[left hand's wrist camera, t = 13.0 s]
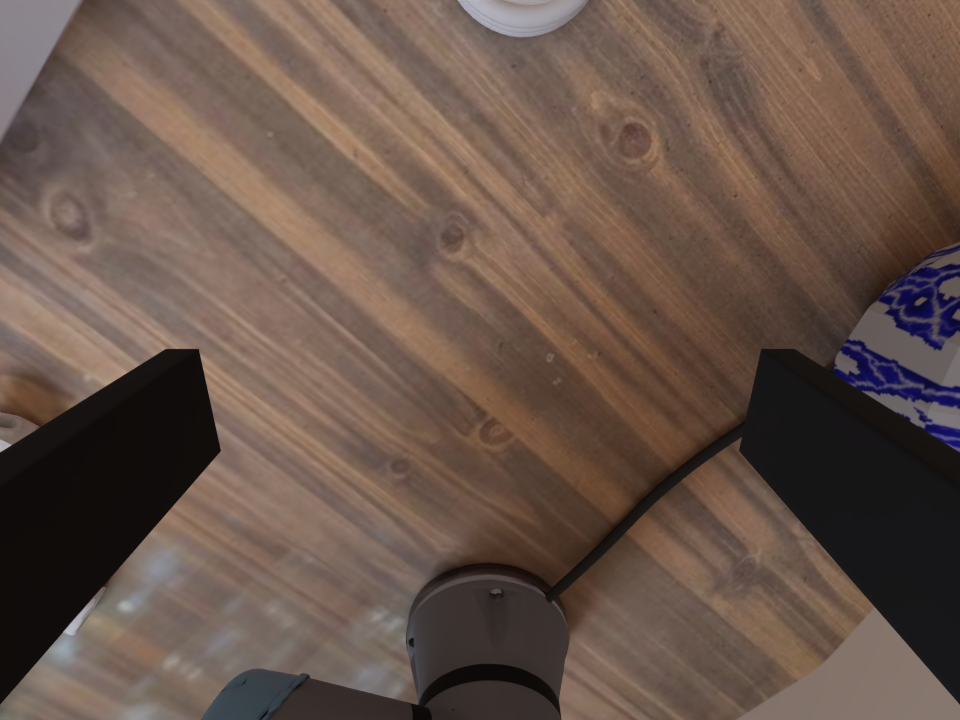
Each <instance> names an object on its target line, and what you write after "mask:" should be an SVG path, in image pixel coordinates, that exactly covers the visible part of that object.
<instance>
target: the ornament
mask: <svg viewBox="0 0 960 720" xmlns="http://www.w3.org/2000/svg"><path fill="white" fill-rule="evenodd" d="M833 374H835V375H837V376H838V377H840V378H841V379H843V380H845V381H846V382H848V383H849V384H851V385H853V386H854V387H856V388H857V389H859V390H861V391H862V392H864V393H865V394H867V395H869V396H870V397H872V398H873V399H875V400H877V401H878V402H880V403H882V404H883V405H885V406H886V407H888V408H890V409H891V410H893V411H894V412H896V413H898V414H899V415H901V416H902V417H904V418H906V419H907V420H909V421H910V422H912V423H914V424H915V425H917V426H918V427H920V428H922V429H923V430H925V431H926V432H928V433H930V434H931V435H933V436H934V437H936V438H938V439H939V440H941V441H942V442H944V443H946V444H947V445H949V446H951V447H952V448H954V449H955V450H957V451H959V452H960V242H958V243H955V244H952V245H949V246H947V247H944V248H941V249H938V250H935V251H933V252H932V253H931V254H929V255H928V256H927V257H925V258H924V259H923V260H921V261H920V262H919V263H917V264H916V265H915V266H913V267H912V268H911V269H909V270H908V271H907V272H905V273H904V274H903V275H901V276H900V277H899V278H897V279H896V280H895V281H893V282H892V283H891V284H889V285H888V286H887V287H886V289H885V290H884V291H883V292H882V293H881V294H880V295H879V297H878V298H877V299H876V300H875V301H874V302H873V303H872V304H871V306H870V307H869V308H868V309H867V310H866V312H865V313H864V315H863V316H862V318H861V320H860V321H859V323H858V324H857V326H856V327H855V329H854V330H853V332H852V333H851V335H850V336H849V338H848V339H847V341H846V342H845V344H844V345H843V347H842V348H841V350H840V351H839V353H838V354H837V356H836V359H835V364H834V370H833Z"/></svg>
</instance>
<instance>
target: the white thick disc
mask: <svg viewBox="0 0 960 720" xmlns="http://www.w3.org/2000/svg"><path fill="white" fill-rule="evenodd" d="M458 2H459V3H460V4H461V5H462V7H463V8H464V9H465V10H466V11H467V12H468V13H469V14H470V15H471V16H472V17H473V18H474V19H476V20H477V21H478V22H479V23H481V24H482V25H484V26H486V27H487V28H489V29H491V30H493V31H496V32H498V33H500V34H504V35H508V36H514V37H533V36H538V35H542V34H545V33H548V32H551V31H553V30H555V29H557V28H559V27H561V26H563V25H564V24H565V23H567V22H568V21H570V20H571V19H572V18H573V17H575V16H576V15H577V14H578V13H579V12H580V11H581V10H582V9H583V8H584V6H585V5H586V4H587V3H588V2H589V0H458Z"/></svg>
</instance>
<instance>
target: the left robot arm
mask: <svg viewBox="0 0 960 720" xmlns="http://www.w3.org/2000/svg"><path fill="white" fill-rule="evenodd" d="M741 437H742V440H741V445H740V450H739V451H740V453H741V454H742V455H743V456H744V457H745V458H746V459H747V461H748V462H749V463H750V464H751V465H752V466H753V467H754V469H755V470H756V471H757V472H758V473H759V474H760V475H761V477H762V478H763V479H764V480H765V481H766V482H767V484H768V485H769V486H770V487H771V488H772V489H773V490H774V492H775V493H776V494H777V495H778V496H779V497H780V498H781V500H782V501H783V502H784V503H785V504H786V505H787V506H788V508H789V509H790V510H791V511H792V512H793V513H794V515H795V516H796V517H797V518H798V519H799V520H800V521H801V523H802V524H803V525H804V526H805V527H806V528H807V529H808V531H809V532H810V533H811V534H812V535H813V536H814V538H815V539H816V540H817V541H818V542H819V543H820V544H821V546H822V547H823V548H824V549H825V550H826V551H827V552H828V554H829V555H830V556H831V557H832V558H833V559H834V560H835V562H836V563H837V564H838V565H839V566H840V567H841V569H842V570H843V571H844V572H845V573H846V574H847V575H848V577H849V578H850V579H851V580H852V581H853V582H854V583H855V585H856V586H857V587H858V588H859V589H860V590H861V591H862V593H863V594H864V595H865V596H866V597H867V598H868V600H869V601H870V602H871V603H872V604H873V605H874V606H875V608H876V609H877V610H878V611H879V612H880V613H881V614H882V616H883V617H884V618H885V619H886V620H887V621H888V622H889V624H890V625H891V626H892V627H893V628H894V629H895V631H896V632H897V633H898V634H899V635H900V636H901V637H902V639H903V640H904V641H905V642H906V643H907V644H908V645H909V647H910V648H911V649H912V650H913V651H914V652H915V654H916V655H917V656H918V657H919V658H920V659H921V660H922V662H923V663H924V664H925V665H926V666H927V667H928V668H929V670H930V671H931V672H932V673H933V674H934V675H935V676H936V678H937V679H938V680H939V681H940V682H941V683H942V685H943V686H944V687H945V688H946V689H947V690H948V691H949V693H950V694H951V695H952V696H953V697H954V698H955V699H956V701H957V702H958V703H959V704H960V452H959V451H957V450H955V449H954V448H952V447H951V446H949V445H947V444H946V443H944V442H942V441H941V440H939V439H938V438H936V437H934V436H933V435H931V434H930V433H928V432H926V431H925V430H923V429H922V428H920V427H918V426H917V425H915V424H914V423H912V422H910V421H909V420H907V419H906V418H904V417H902V416H901V415H899V414H898V413H896V412H894V411H893V410H891V409H890V408H888V407H886V406H885V405H883V404H882V403H880V402H878V401H877V400H875V399H873V398H872V397H870V396H869V395H867V394H865V393H864V392H862V391H861V390H859V389H857V388H856V387H854V386H853V385H851V384H849V383H848V382H846V381H845V380H843V379H841V378H840V377H838V376H837V375H835V374H833V370H832V371H829V370H827V369H825V368H824V367H822V366H821V365H819V364H817V363H816V362H814V361H812V360H811V359H809V358H808V357H806V356H804V355H803V354H801V353H800V352H798V351H796V350H795V349H761V353H760V358H759V362H758V367H757V371H756V376H755V381H754V385H753V390H752V394H751V399H750V404H749V408H748V413H747V417H746V421H744V422H743V423H741V424H740V425H738V426H737V427H735V428H734V429H732V430H731V431H729V432H728V433H726V434H725V435H723V436H722V437H720V438H719V439H717V440H716V441H714V442H713V443H712V444H710V445H709V446H707V447H706V448H704V449H703V450H702V451H700V452H699V453H698V454H696V455H695V456H694V457H692V458H691V459H690V460H688V461H687V462H686V463H684V464H683V465H682V466H681V467H679V468H678V469H677V470H676V471H674V472H673V473H672V474H671V475H670V476H668V477H667V478H666V479H665V480H664V481H663V482H661V483H660V484H659V485H658V486H657V487H656V488H654V489H653V490H652V491H651V492H650V493H649V494H648V495H647V496H646V497H645V498H644V499H643V500H642V501H641V502H640V503H639V504H638V505H637V506H636V507H635V508H634V509H633V510H632V511H631V512H630V513H629V514H628V515H627V516H626V517H625V518H624V519H623V520H622V521H621V522H620V523H619V525H618V526H617V527H616V528H615V529H614V530H613V531H612V532H611V533H610V534H609V535H608V536H607V537H606V538H605V539H604V540H603V541H602V542H601V543H600V544H599V545H598V546H597V547H596V548H595V549H594V550H592V551H591V552H590V553H589V554H588V555H587V556H586V557H585V558H584V559H583V560H582V561H581V562H580V563H579V564H578V565H576V566H575V567H574V568H573V569H572V570H571V571H570V572H569V573H568V574H567V575H566V576H564V577H563V578H562V579H561V580H560V581H559V582H558V583H557V584H556V585H555V586H553V587H552V588H551V587H550V586H549V585H548V584H546V583H545V582H544V581H542V580H541V579H539V578H538V577H536V576H535V575H532V574H530V573H528V572H526V571H523V570H521V569H517V568H514V567H509V566H504V565H495V564H480V565H471V566H466V567H462V568H458V569H455V570H452V571H449V572H447V573H445V574H443V575H441V576H439V577H438V578H436V579H434V580H433V581H432V582H430V583H429V584H428V585H427V586H425V587H424V589H423V590H422V591H421V592H420V593H419V594H418V596H417V597H416V599H415V600H414V602H413V604H412V607H411V610H410V613H409V619H408V626H407V632H406V645H407V650H408V654H409V658H410V662H411V668H412V673H413V678H414V683H415V688H416V692H417V697H418V705H416V704H411V703H408V702H404V701H399V700H395V699H391V698H387V697H383V696H379V695H375V694H371V693H367V692H363V691H359V690H355V689H351V688H347V687H343V686H339V685H335V684H331V683H327V682H323V681H319V680H315V679H311V678H310V675H308V674H305V673H303V674H300V675H299V676H297V675H292V674H287V673H281V672H276V671H271V670H265V669H251V670H248V671H245V672H243V673H241V674H239V675H238V676H237V677H235V678H234V679H233V680H232V681H230V682H229V683H228V684H227V685H226V686H225V687H224V689H223V690H222V691H221V692H220V693H219V695H218V696H217V697H216V699H215V700H214V701H213V703H212V704H211V705H210V707H209V708H208V710H207V711H206V713H205V714H204V716H203V717H202V719H201V720H561V713H560V706H559V695H560V689H561V683H562V677H563V670H564V663H565V657H566V654H567V650H568V646H569V630H568V624H567V619H566V614H565V610H564V607H563V604H562V602H561V600H560V598H559V597H558V596H559V595H560V594H561V593H562V592H563V591H564V590H566V589H567V588H568V587H569V586H570V585H571V584H572V583H573V582H574V581H576V580H577V579H578V578H579V577H580V576H581V575H582V574H583V573H584V572H585V571H586V570H587V569H589V568H590V567H591V566H592V565H593V564H594V563H595V562H596V561H597V560H598V559H599V558H600V557H601V556H602V555H603V554H604V553H606V552H607V551H608V550H609V549H610V548H611V547H612V546H613V545H614V544H615V543H616V542H617V541H618V540H619V539H620V538H621V537H622V536H623V535H624V534H625V533H626V531H627V530H628V529H629V528H630V527H631V526H632V525H633V524H634V523H635V522H636V521H637V520H638V519H639V518H640V517H641V516H642V515H643V514H644V513H645V512H646V511H647V510H648V509H649V508H650V507H651V506H652V505H653V504H654V503H655V502H656V501H658V500H659V499H660V498H661V497H662V496H663V495H664V494H665V493H667V492H668V491H669V490H670V489H671V488H672V487H674V486H675V485H676V484H677V483H679V482H680V481H681V480H682V479H683V478H685V477H686V476H687V475H688V474H690V473H691V472H692V471H694V470H695V469H696V468H698V467H699V466H700V465H702V464H703V463H704V462H706V461H707V460H708V459H710V458H711V457H713V456H714V455H715V454H717V453H718V452H720V451H721V450H723V449H724V448H726V447H727V446H729V445H730V444H732V443H733V442H735V441H736V440H738V439H739V438H741ZM220 451H221V450H220V445H219V440H218V436H217V431H216V427H215V422H214V417H213V413H212V408H211V404H210V399H209V394H208V390H207V385H206V381H205V376H204V371H203V367H202V362H201V358H200V353H199V349H165V350H164V351H162V352H160V353H159V354H157V355H156V356H154V357H152V358H151V359H149V360H148V361H146V362H144V363H143V364H141V365H139V366H138V367H136V368H135V369H133V370H131V371H130V372H128V373H127V374H125V375H123V376H122V377H120V378H119V379H117V380H115V381H114V382H112V383H111V384H109V385H107V386H106V387H104V388H103V389H101V390H99V391H98V392H96V393H95V394H93V395H91V396H90V397H88V398H87V399H85V400H83V401H82V402H80V403H78V404H77V405H75V406H74V407H72V408H70V409H69V410H67V411H66V412H64V413H62V414H61V415H59V416H58V417H56V418H54V419H53V420H51V421H50V422H48V423H46V424H45V425H43V426H42V427H40V428H38V429H37V430H35V431H34V432H32V433H30V434H29V435H27V436H26V437H24V438H22V439H21V440H19V441H18V442H16V443H14V444H13V445H11V446H9V447H8V448H6V449H5V450H3V451H1V452H0V704H1V703H2V702H3V701H4V699H5V698H6V697H7V696H8V695H9V694H10V693H11V691H12V690H13V689H14V688H15V687H16V686H17V685H18V683H19V682H20V681H21V680H22V679H23V678H24V676H25V675H26V674H27V673H28V672H29V671H30V670H31V668H32V667H33V666H34V665H35V664H36V663H37V662H38V660H39V659H40V658H41V657H42V656H43V655H44V654H45V652H46V651H47V650H48V649H49V648H50V647H51V645H52V644H53V643H54V642H55V641H56V640H57V639H58V637H59V636H60V635H61V634H62V633H63V632H64V631H65V629H66V628H67V627H68V626H69V625H70V624H71V622H72V621H73V620H74V619H75V618H76V617H77V616H78V614H79V613H80V612H81V611H82V610H83V609H84V608H85V606H86V605H87V604H88V603H89V602H90V601H91V600H92V598H93V597H94V596H95V595H96V594H97V593H98V591H99V590H100V589H101V588H102V587H103V586H104V585H105V583H106V582H107V581H108V580H109V579H110V578H111V577H112V575H113V574H114V573H115V572H116V571H117V570H118V569H119V567H120V566H121V565H122V564H123V563H124V562H125V560H126V559H127V558H128V557H129V556H130V555H131V554H132V552H133V551H134V550H135V549H136V548H137V547H138V546H139V544H140V543H141V542H142V541H143V540H144V539H145V538H146V536H147V535H148V534H149V533H150V532H151V531H152V529H153V528H154V527H155V526H156V525H157V524H158V523H159V521H160V520H161V519H162V518H163V517H164V516H165V515H166V513H167V512H168V511H169V510H170V509H171V508H172V506H173V505H174V504H175V503H176V502H177V501H178V500H179V498H180V497H181V496H182V495H183V494H184V493H185V492H186V490H187V489H188V488H189V487H190V486H191V485H192V484H193V482H194V481H195V480H196V479H197V478H198V477H199V475H200V474H201V473H202V472H203V471H204V470H205V469H206V467H207V466H208V465H209V464H210V463H211V462H212V461H213V459H214V458H215V457H216V456H217V455H218V454H219V453H220Z"/></svg>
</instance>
